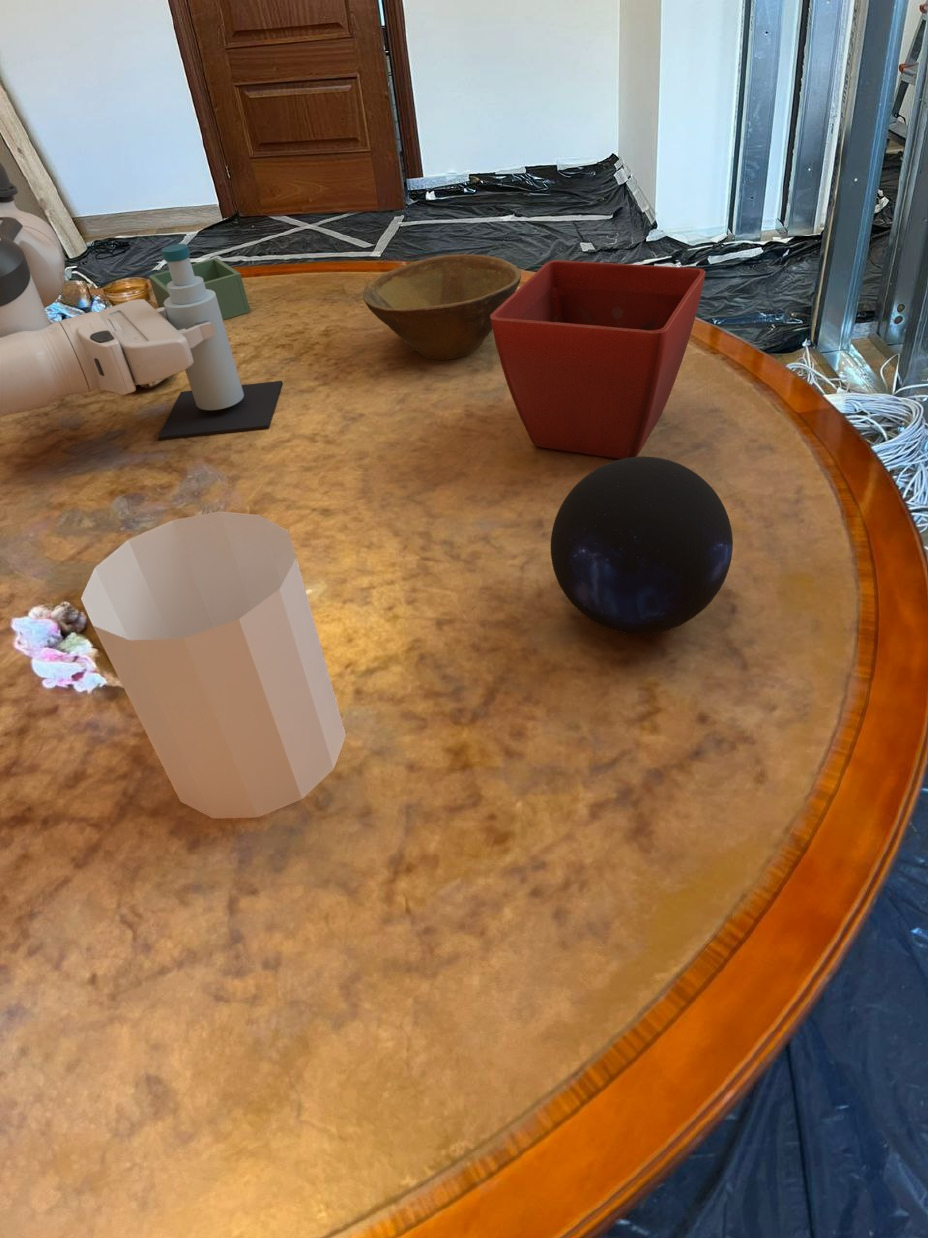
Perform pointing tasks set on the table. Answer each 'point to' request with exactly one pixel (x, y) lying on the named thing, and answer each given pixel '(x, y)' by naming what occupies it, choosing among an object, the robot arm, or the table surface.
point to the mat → (223, 413)
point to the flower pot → (595, 351)
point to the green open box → (210, 286)
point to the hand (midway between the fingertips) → (202, 319)
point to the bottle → (212, 356)
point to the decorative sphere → (641, 545)
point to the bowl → (443, 301)
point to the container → (220, 660)
